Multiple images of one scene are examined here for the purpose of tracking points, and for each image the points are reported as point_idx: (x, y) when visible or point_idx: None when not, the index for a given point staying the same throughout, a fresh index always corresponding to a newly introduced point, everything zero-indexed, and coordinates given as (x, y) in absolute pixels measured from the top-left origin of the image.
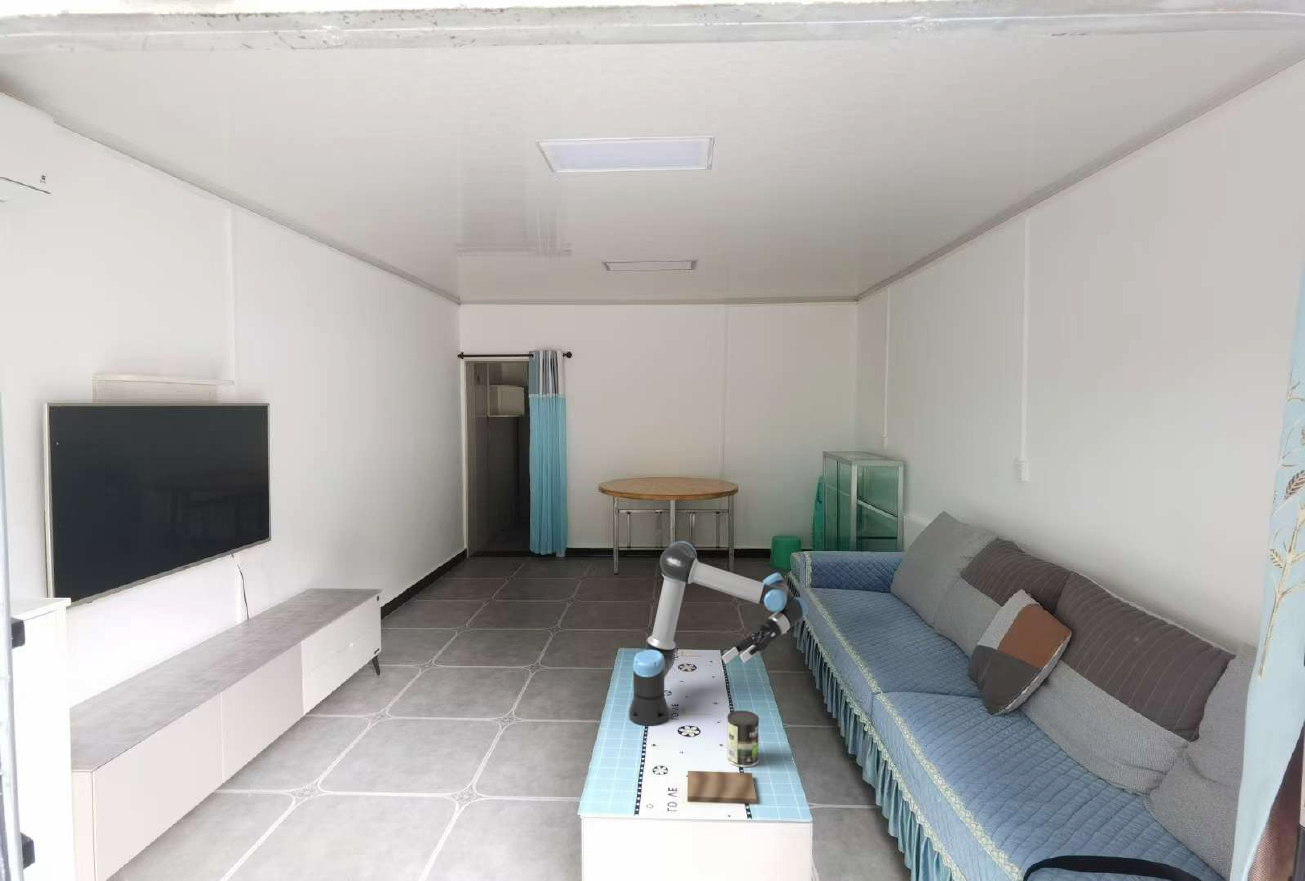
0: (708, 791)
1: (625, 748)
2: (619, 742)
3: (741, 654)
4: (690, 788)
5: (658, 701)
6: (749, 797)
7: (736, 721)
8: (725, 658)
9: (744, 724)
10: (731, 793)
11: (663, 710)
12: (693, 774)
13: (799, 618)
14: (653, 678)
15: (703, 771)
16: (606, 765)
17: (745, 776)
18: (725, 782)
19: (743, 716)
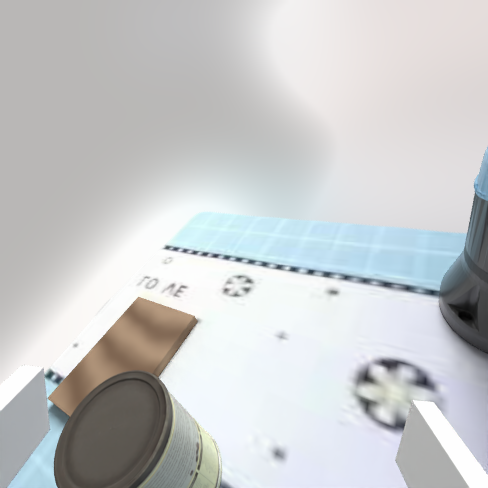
0: (124, 328)
1: (332, 248)
2: (359, 241)
3: (18, 377)
4: (150, 305)
5: (476, 282)
6: (59, 387)
7: (112, 389)
8: (413, 442)
9: (79, 404)
10: (92, 362)
11: (476, 317)
12: (178, 321)
13: None
14: (478, 204)
15: (175, 341)
16: (286, 224)
17: None
18: (121, 366)
19: (117, 435)
